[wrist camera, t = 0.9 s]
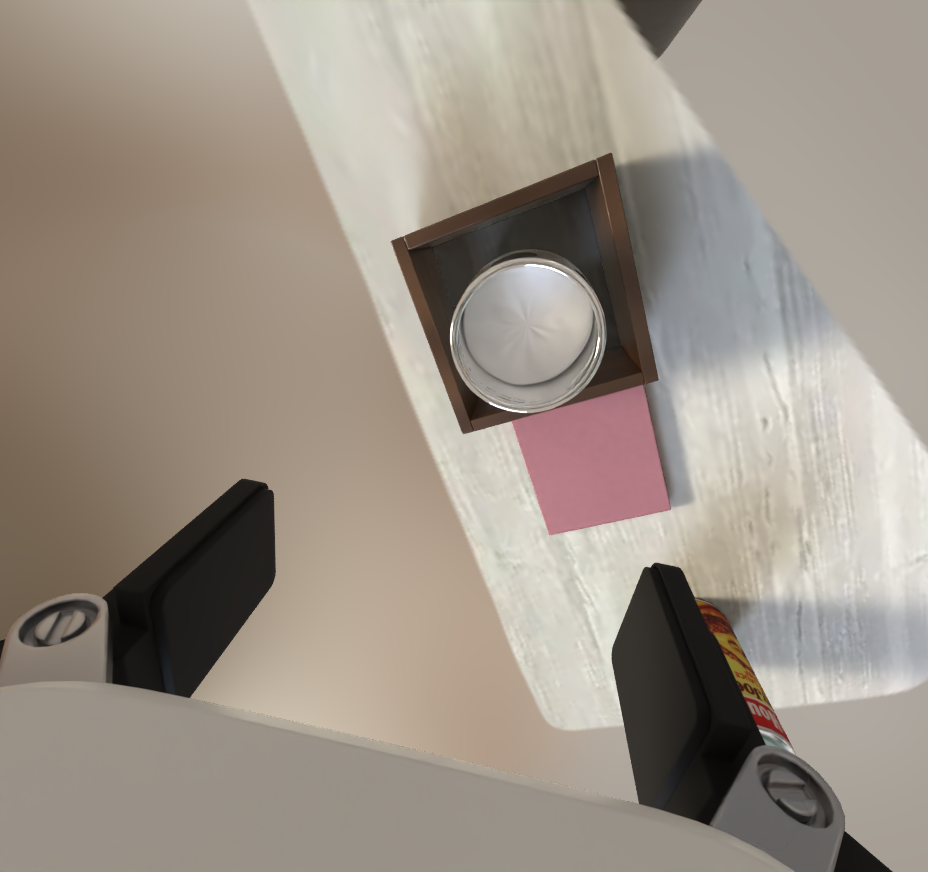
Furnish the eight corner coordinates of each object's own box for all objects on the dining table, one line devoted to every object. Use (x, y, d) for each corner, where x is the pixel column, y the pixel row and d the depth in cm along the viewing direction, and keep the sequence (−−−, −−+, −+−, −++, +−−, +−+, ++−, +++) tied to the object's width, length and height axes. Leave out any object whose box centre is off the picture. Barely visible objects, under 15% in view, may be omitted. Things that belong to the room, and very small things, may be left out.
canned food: (744, 640, 43) (819, 780, 32) (666, 672, 45) (710, 811, 34) (700, 583, 41) (762, 711, 30) (621, 620, 44) (652, 749, 33)
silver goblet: (459, 299, 34) (412, 341, 20) (529, 221, 31) (528, 211, 18) (526, 365, 35) (524, 447, 22) (598, 296, 33) (648, 339, 19)
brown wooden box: (417, 240, 33) (390, 241, 26) (594, 170, 30) (611, 152, 23) (474, 400, 37) (462, 434, 30) (634, 353, 34) (659, 380, 27)
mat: (511, 416, 37) (511, 420, 36) (640, 380, 35) (643, 383, 34) (548, 529, 41) (549, 535, 40) (668, 503, 38) (671, 510, 37)
